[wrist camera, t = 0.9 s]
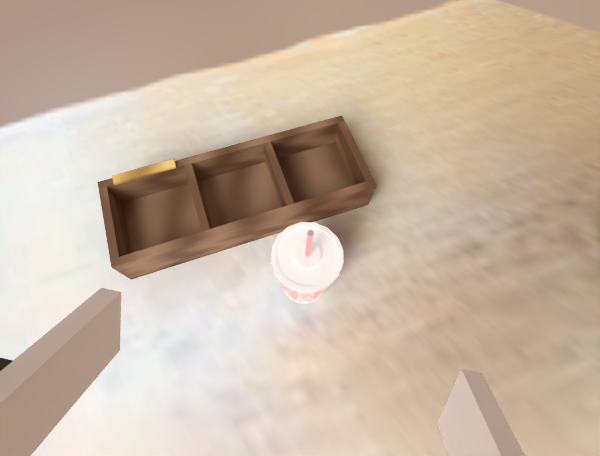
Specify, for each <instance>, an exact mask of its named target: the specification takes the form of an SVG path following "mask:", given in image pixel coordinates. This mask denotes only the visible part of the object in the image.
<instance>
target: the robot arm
mask: <svg viewBox="0 0 600 456" xmlns="http://www.w3.org/2000/svg"><path fill="white" fill-rule="evenodd" d="M120 319H121V292H117V291H113V290H109V289H104V288H101V289H100V290H99V291H97V292H96V293H95V294H94V295H92V296H91V297H90V298H89V299H88V300H86V301H85V302H84V303H83V304H82V305H80V306H79V307H78V308H77V309H75V310H74V311H73V312H72V313H71V314H69V315H68V316H67V317H66V318H65V319H63V320H62V321H61V322H60V323H58V324H57V325H56V326H55V327H54V328H52V329H51V330H50V331H49V332H48V333H46V334H45V335H44V336H43V337H42V338H40V339H39V340H38V341H37V342H35V343H34V344H33V345H32V346H31V347H29V348H28V349H27V350H26V351H25V352H23V353H22V354H21V355H20V356H18V357H17V358H16V359H15V360H14V361H12V360H8V359H3V358H0V456H31V454H32V453H33V452H34V451H35V450H36V448H37V447H38V446H39V445H40V444H41V443H42V441H43V440H44V439H45V438H46V437H47V435H48V434H49V433H50V432H51V431H52V430H53V428H54V427H55V426H56V425H57V424H58V422H59V421H60V420H61V419H62V418H63V417H64V415H65V414H66V413H67V412H68V411H69V409H70V408H71V407H72V406H73V405H74V404H75V402H76V401H77V400H78V399H79V398H80V396H81V395H82V394H83V393H84V392H85V391H86V389H87V388H88V387H89V386H90V385H91V383H92V382H93V381H94V380H95V379H96V378H97V376H98V375H99V374H100V373H101V372H102V370H103V369H104V368H105V367H106V366H107V365H108V363H109V362H110V361H111V360H112V359H113V357H114V356H115V355H116V354H117V353H118V352H119V350H120ZM437 423H438V427H439V430H440V433H441V436H442V440H443V443H444V446H445V449H446V453H447V456H525V455H524V453H523V452H522V450H521V448H520V446H519V444H518V442H517V440H516V438H515V436H514V434H513V432H512V430H511V429H510V427H509V425H508V423H507V421H506V419H505V417H504V415H503V413H502V411H501V409H500V408H499V406H498V404H497V402H496V400H495V398H494V396H493V394H492V392H491V390H490V388H489V387H488V385H487V383H486V381H485V379H484V377H483V375H482V374H481V373H477V372H472V371H468V370H464V369H461V371H460V373H459V376H458V378H457V380H456V382H455V385H454V387H453V389H452V391H451V393H450V396H449V398H448V400H447V402H446V404H445V407H444V409H443V411H442V413H441V415H440V418H439V420H438V422H437Z"/></svg>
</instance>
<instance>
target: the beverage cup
mask: <svg viewBox="0 0 600 456" xmlns="http://www.w3.org/2000/svg"><path fill="white" fill-rule="evenodd" d="M271 263H272V266H273V268H274V271H275V274H276V276H277V278H278V279H279V280H280V281H281V283H282V286H283V288H284V291H285V294H286V295H287V296H288V297H289V298H290V299H291V300H293V301H296V302H298V303H310V302H313V301H315V300H317V299H318V298H319V297H320V296H321V295H322V293H323V292H324V291H325V289H326V288H327V287H329V286H330V285H331V284H332V283H333V282H334V281H335V280H336V279H337V277H338V276H339V273H340V271H341V268H342V266H343V263H344V258H343V248H342V246H341V244H340V241H339V239H338V237H337V236H336V235H335V234H334V233H333V232H332V231H331V230H329V229H328V228H327V227H325V226H322V225H320V224H317V223H315V222H300V223H297V224H294V225H291V226H289V227H287V228H286V229H285V230H284V231H282V232H281V233H280V234H279V235H278V236H277V238H276V240H275V242H274V244H273V246H272V254H271Z"/></svg>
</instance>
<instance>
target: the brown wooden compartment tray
mask: <svg viewBox="0 0 600 456" xmlns="http://www.w3.org/2000/svg"><path fill="white" fill-rule="evenodd" d="M98 187H99V193H100V199H101V205H102V212H103V218H104V224H105V230H106V236H107V242H108V248H109V255H110V261H111V267H112V268H114V269H115V270H117V271H118V272H120V273H122V274H123V275H125V276H126V277H128V278H130V279H134V278H137V277H140V276H143V275H146V274H149V273H153V272H156V271H159V270H162V269H165V268H168V267H172V266H175V265H178V264H181V263H184V262H188V261H191V260H194V259H197V258H200V257H203V256H207V255H210V254H213V253H216V252H219V251H222V250H226V249H229V248H232V247H235V246H238V245H241V244H245V243H248V242H251V241H254V240H257V239H260V238H264V237H267V236H270V235H273V234H276V233H279V232H282V231H284V230H285V229H286V228H287V227H289V226H291V225H294V224H297V223H300V222H314V221H317V220H321V219H324V218H327V217H330V216H333V215H336V214H340V213H343V212H346V211H349V210H352V209H355V208H359V207H362V206H365V205H368V203H369V201H370V198H371V196H372V194H373V192H374V189H375V187H376V184H375V182H374V180H373V178H372V176H371V174H370V172H369V170H368V168H367V166H366V164H365V162H364V160H363V158H362V156H361V154H360V152H359V150H358V147H357V145H356V143H355V141H354V139H353V137H352V135H351V133H350V131H349V129H348V127H347V125H346V123H345V121H344V119H343V117H342V116H339V117H335V118H331V119H328V120H324V121H320V122H317V123H313V124H309V125H306V126H302V127H298V128H295V129H291V130H287V131H284V132H280V133H276V134H273V135H269V136H265V137H262V138H258V139H254V140H251V141H247V142H243V143H240V144H236V145H232V146H229V147H225V148H221V149H218V150H214V151H210V152H207V153H203V154H199V155H196V156H192V157H188V158H185V159H181V160H177V161H175V160H174V159H172V160H168V161H164V162H160V163H157V164H153V165H149V166H146V167H142V168H138V169H135V170H131V171H127V172H124V173H120V174H116V175H113V176H112V178H111V179H108V180H104V181H100V182H98Z"/></svg>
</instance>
